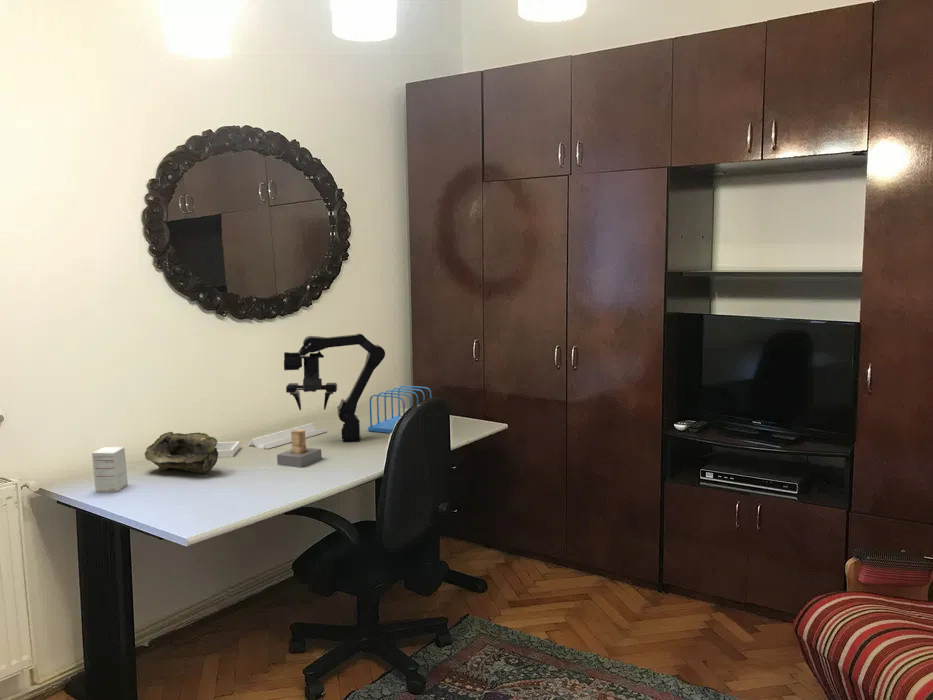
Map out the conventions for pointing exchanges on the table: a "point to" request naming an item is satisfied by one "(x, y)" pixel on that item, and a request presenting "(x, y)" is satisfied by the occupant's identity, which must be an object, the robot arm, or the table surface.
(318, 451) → the end cap
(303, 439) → the tan wooden block
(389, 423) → the file sorter
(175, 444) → the hollow geode rock
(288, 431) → the crown molding
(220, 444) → the tray
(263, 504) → the table surface
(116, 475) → the supplement box
